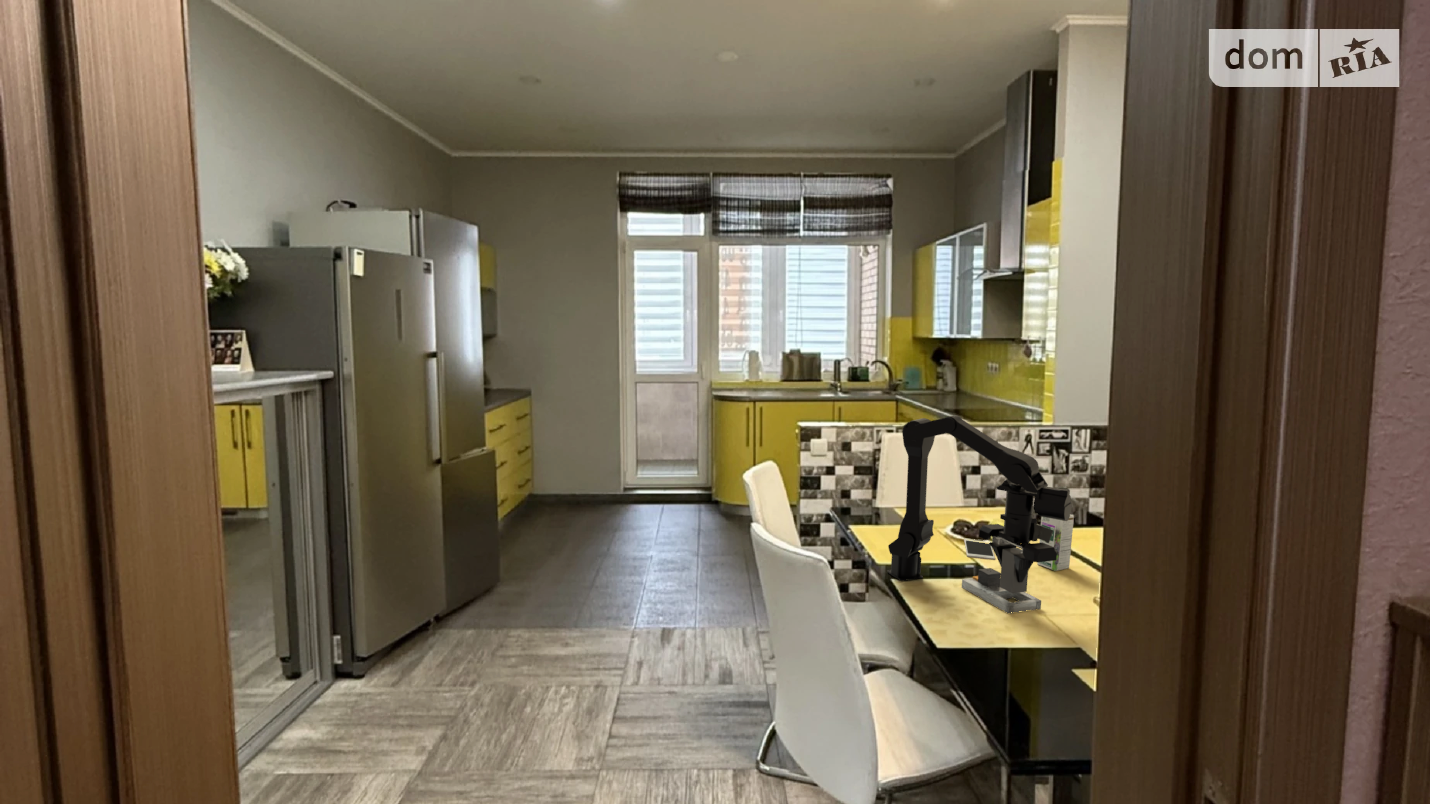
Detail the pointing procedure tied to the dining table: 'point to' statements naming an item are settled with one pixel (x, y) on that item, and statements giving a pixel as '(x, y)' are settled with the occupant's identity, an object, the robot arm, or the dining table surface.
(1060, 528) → the syrup box
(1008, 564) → the plug
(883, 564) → the dining table surface
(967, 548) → the smartphone
